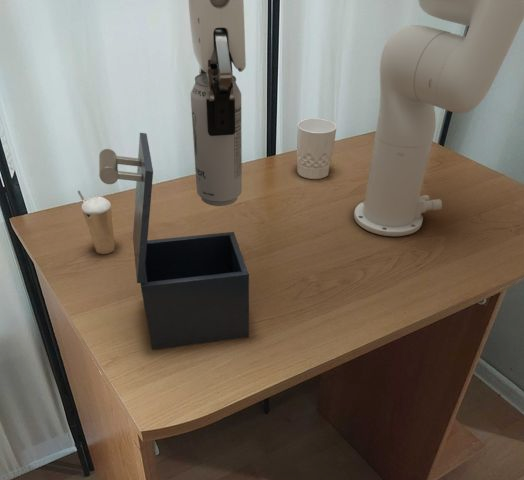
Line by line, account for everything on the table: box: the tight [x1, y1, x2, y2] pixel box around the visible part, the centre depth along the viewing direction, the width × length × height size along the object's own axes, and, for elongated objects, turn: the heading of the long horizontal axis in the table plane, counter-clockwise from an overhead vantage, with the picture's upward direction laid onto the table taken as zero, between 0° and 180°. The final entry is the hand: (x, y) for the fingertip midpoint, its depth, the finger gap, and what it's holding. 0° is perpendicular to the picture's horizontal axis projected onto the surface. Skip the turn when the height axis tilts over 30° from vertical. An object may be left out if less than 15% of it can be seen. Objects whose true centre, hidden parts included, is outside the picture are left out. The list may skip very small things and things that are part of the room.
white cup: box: [296, 117, 338, 180], centre depth 111 cm, size 8×8×10 cm
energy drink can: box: [190, 73, 243, 207], centre depth 67 cm, size 6×6×15 cm
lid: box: [98, 132, 154, 284], centre depth 64 cm, size 14×11×5 cm
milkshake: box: [77, 190, 116, 255], centre depth 88 cm, size 5×5×10 cm
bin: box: [140, 231, 250, 351], centre depth 74 cm, size 14×11×11 cm
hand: (217, 122), depth 66 cm, fingers closed on energy drink can, 6 cm apart
